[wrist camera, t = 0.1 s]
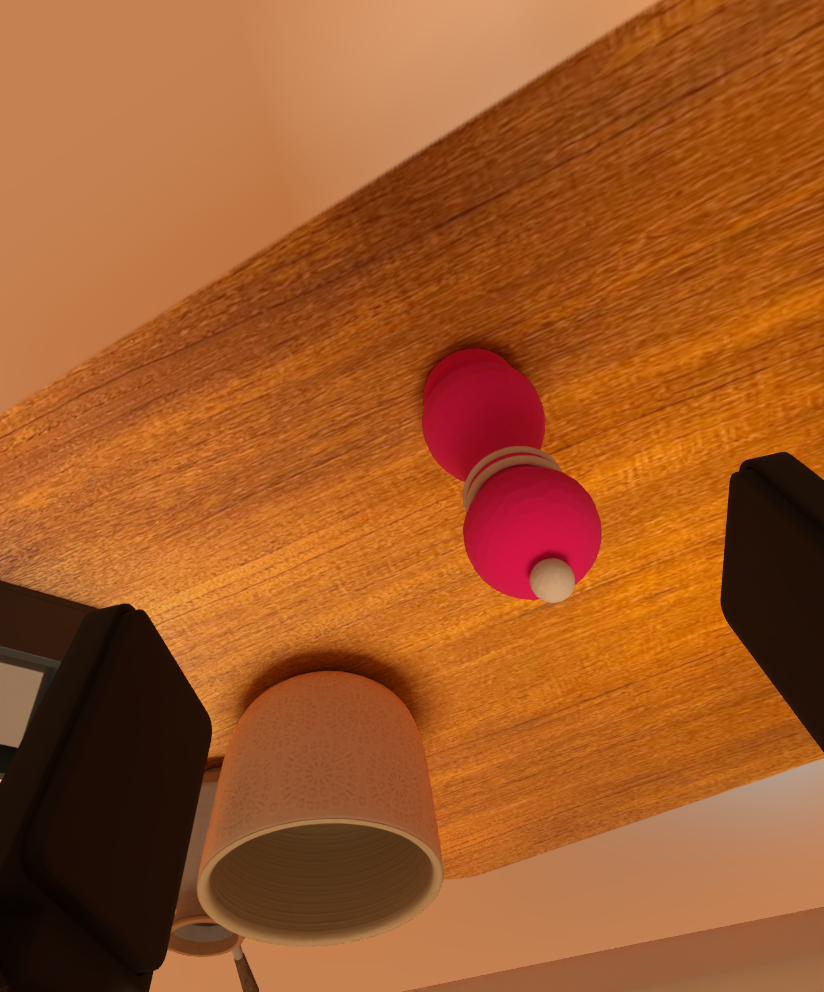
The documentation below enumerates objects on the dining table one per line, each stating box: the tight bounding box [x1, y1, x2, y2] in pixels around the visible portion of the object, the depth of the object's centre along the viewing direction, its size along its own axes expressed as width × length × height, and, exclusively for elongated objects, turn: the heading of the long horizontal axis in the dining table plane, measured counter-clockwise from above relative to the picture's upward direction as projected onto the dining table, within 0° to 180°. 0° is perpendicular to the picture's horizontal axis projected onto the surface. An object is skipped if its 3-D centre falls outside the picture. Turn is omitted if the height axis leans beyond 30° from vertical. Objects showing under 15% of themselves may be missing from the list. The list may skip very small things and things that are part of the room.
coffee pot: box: [167, 767, 259, 992], centre depth 57 cm, size 21×12×15 cm, turn 12°
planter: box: [197, 671, 444, 946], centre depth 50 cm, size 17×17×15 cm
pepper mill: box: [422, 348, 601, 603], centre depth 33 cm, size 7×7×20 cm
